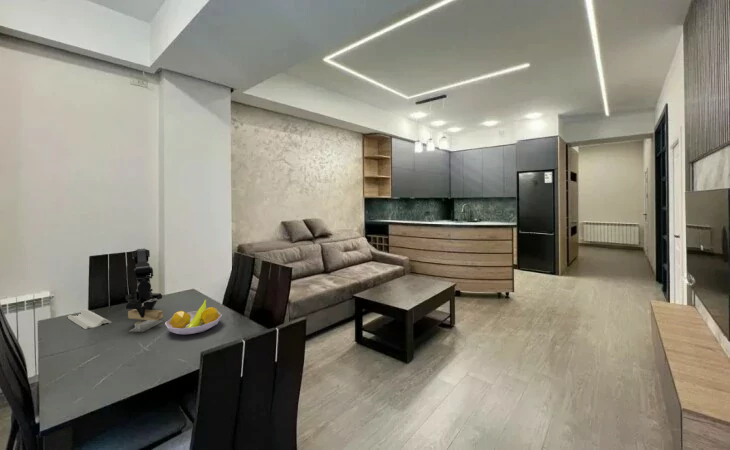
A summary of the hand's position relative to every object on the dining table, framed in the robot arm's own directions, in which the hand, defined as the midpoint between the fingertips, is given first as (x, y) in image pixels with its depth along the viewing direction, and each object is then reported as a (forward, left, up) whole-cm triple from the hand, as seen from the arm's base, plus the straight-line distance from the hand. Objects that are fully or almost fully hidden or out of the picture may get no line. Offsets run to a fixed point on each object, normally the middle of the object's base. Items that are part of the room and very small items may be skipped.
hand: (145, 316), depth 168 cm
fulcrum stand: (0, 0, -6) cm, 6 cm away
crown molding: (-6, -41, -7) cm, 42 cm away
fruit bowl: (0, +29, -6) cm, 30 cm away
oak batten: (0, 0, -1) cm, 1 cm away
